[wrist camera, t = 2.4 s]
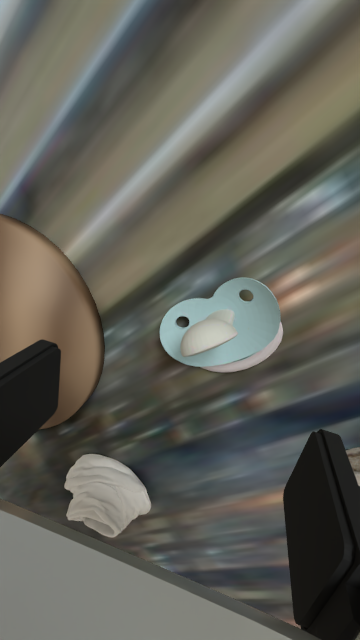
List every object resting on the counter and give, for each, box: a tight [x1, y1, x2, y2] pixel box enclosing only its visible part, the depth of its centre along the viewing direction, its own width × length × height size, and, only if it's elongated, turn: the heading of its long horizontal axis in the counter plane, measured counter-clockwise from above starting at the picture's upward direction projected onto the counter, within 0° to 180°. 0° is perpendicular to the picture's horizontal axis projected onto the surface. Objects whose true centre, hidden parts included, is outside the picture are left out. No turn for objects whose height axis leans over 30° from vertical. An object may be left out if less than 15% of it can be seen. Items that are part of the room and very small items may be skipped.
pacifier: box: [160, 278, 283, 372], centre depth 17 cm, size 7×6×6 cm
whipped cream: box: [64, 454, 151, 538], centre depth 26 cm, size 8×7×5 cm
